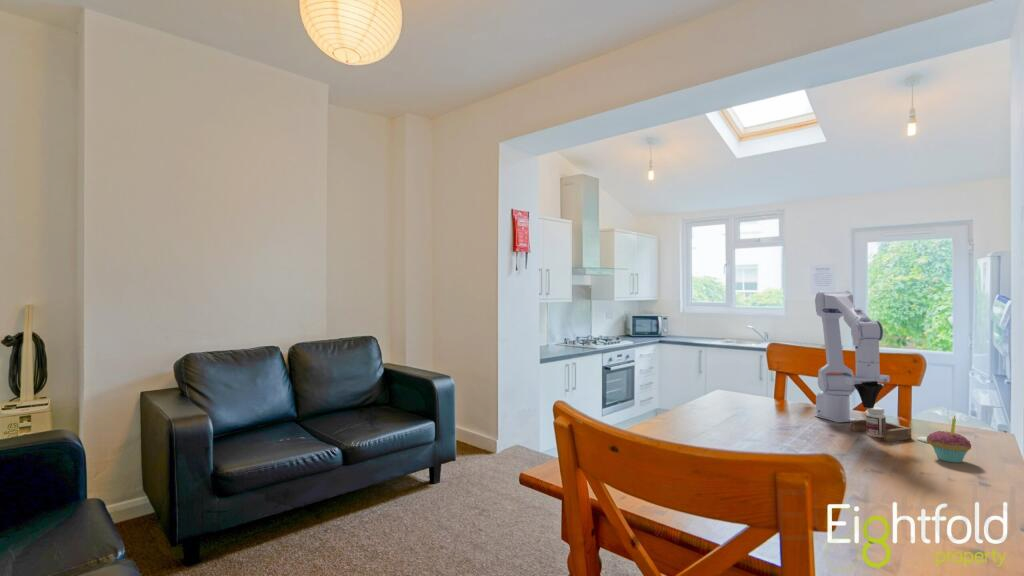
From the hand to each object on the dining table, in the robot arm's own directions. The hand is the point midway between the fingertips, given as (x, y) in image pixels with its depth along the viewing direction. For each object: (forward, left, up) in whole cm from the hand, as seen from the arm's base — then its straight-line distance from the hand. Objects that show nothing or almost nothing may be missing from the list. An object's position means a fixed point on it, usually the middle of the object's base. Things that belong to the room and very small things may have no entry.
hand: (868, 407), depth 139 cm
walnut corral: (-3, +8, -10) cm, 13 cm away
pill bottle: (-3, +6, -10) cm, 12 cm away
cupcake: (+18, +4, -10) cm, 21 cm away
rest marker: (+6, +16, -10) cm, 19 cm away
